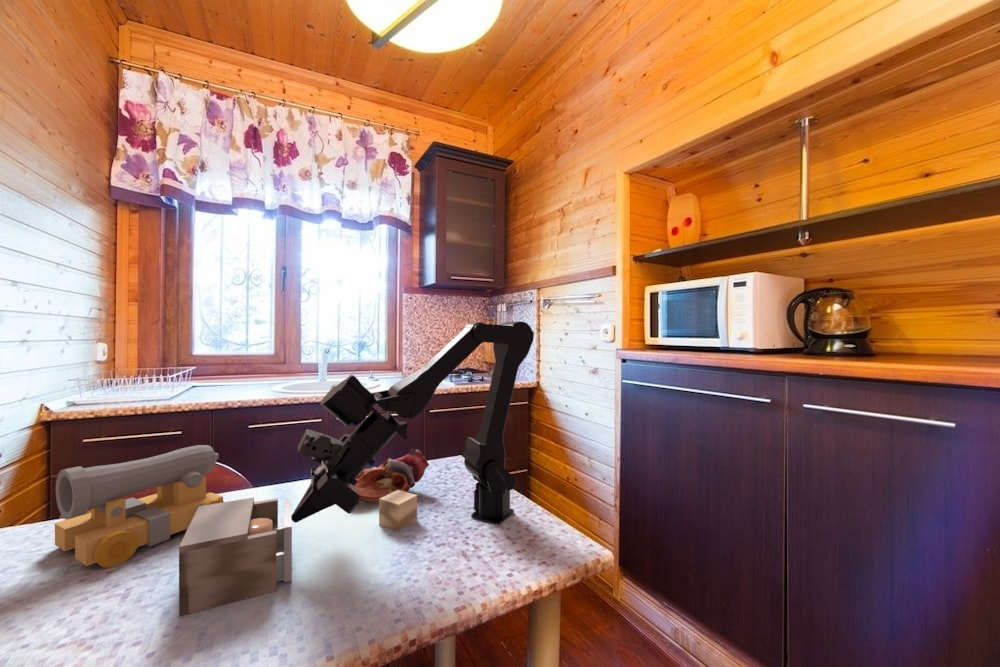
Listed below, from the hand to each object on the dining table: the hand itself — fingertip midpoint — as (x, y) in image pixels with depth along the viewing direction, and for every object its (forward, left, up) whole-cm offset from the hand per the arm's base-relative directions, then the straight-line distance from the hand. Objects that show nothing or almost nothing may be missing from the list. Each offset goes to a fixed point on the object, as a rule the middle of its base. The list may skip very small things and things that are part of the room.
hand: (293, 520), depth 64 cm
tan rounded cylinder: (+3, +5, -6) cm, 8 cm away
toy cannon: (+31, +7, -7) cm, 33 cm away
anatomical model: (+6, -26, -7) cm, 28 cm away
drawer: (+3, +4, -7) cm, 8 cm away
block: (-5, -18, -7) cm, 20 cm away
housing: (+4, +7, -7) cm, 10 cm away
